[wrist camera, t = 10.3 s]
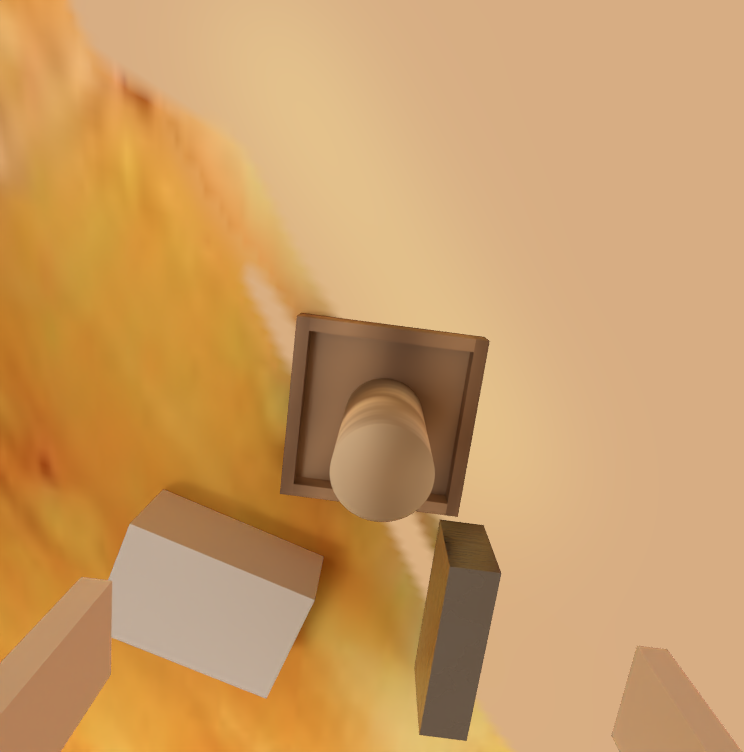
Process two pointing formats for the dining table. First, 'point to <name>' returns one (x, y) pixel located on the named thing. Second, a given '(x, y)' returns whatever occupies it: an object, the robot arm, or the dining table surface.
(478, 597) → the block
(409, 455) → the roller
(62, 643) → the robot arm
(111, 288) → the dining table surface
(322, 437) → the tray
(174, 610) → the slab
